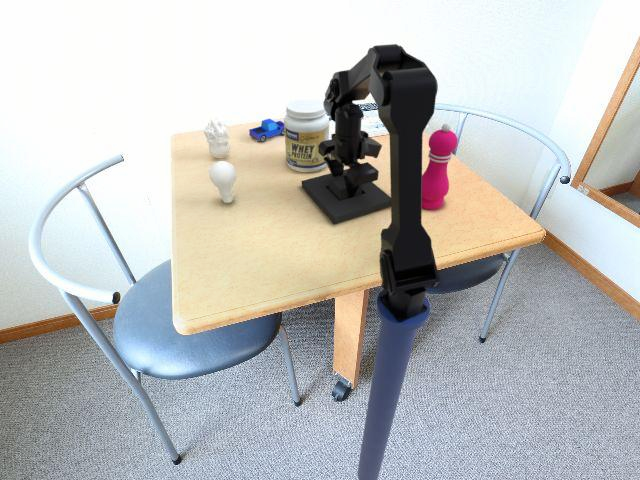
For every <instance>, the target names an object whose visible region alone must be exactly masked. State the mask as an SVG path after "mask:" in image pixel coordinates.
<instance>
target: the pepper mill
mask: <svg viewBox="0 0 640 480" xmlns="http://www.w3.org/2000/svg"><path fill="white" fill-rule="evenodd" d="M451 128H452V127H451V125H450V124H449V123H447V122H445V123H444V124H442V126H441V129H437V130H435V131H433V133H431V134H430V137H429V139H428V146H429V150H428V155H427V157H428V159H429V161H428V165H427V167H426V169H425V171H424V172H423V173H422V208H423V209H425V210H431V211H434V210H438V209H441V208H442V207H443V205H444V201H445V197H446V196H447V195H448V193H449V190H450V180H449V177H448V164H449V162H450V161H451V160H452V157H453V152H454V151H455V150H456V148H457V147H458V140H459V139H458V137H457V134H456V133H455V132H454V131H453V130H451Z"/></svg>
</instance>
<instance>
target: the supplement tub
mask: <svg viewBox="0 0 640 480" xmlns="http://www.w3.org/2000/svg"><path fill="white" fill-rule="evenodd" d="M323 102H324V101H323V100H320V99H315V98H297V99H293V100H291V101H289V102H287V104H286V109H285V112H286V114H285V116H284V118H283V123H284V131H285V135H284V144H285V160H286V163H287V166H288V167H289V168H290V169H292V170H293V171H296V172H301V173H315V172H319V171H321V170H323V169H325V168H326V167H328V166H327V164H326V162H325V161H324V159H323V158H324V157H326V156H324V157H323V156H322V155H320V154H319V153H318V146H319V144H320V143H321V142H322V141H327V140H330V116H329V115H328V114H327V112H326V111H325V109H324V106H323Z"/></svg>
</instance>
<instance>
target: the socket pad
mask: <svg viewBox="0 0 640 480" xmlns="http://www.w3.org/2000/svg"><path fill="white" fill-rule="evenodd" d="M348 169H349V168H344V171H343V175H344V174H347V170H348ZM332 177H333V176H332V174H331V172H330V173H326V174H323V175H319V176H316V177H312V178H307V179H303V180H301V182H300V183H301V188H302V190H303V191H304V192H305V193H306V194H307V195H308V197H309V198H310V199H311V200H312V201H313V203H315V204H316V205H317V207H318V208H319V209H320V210H321V211H322V213H324V214H325V216H326V217H327V219H329V220H330V222H332V224H333V225H338V224H340V223H344V222H346V221H351V220H353V219H356V218H359V217H362V216H366V215H369V214H372V213H374V212H378V211H382V210H385V209H388V208H391V195H389V194H388V193H386V192H385V191H384V190H383V189H381V188H380V187H379V186H378V185H377V184H375V183H374V181H373V182H369V183H366V184H362V194H361V195H359V196H355V197H352V198H348V199H345V200H342V201H339V200H338V199H337V198H336V197H335V196H334V195H333V194H332V193H331V192H330V191H329V178H332Z"/></svg>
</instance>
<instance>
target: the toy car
mask: <svg viewBox="0 0 640 480" xmlns="http://www.w3.org/2000/svg"><path fill="white" fill-rule="evenodd" d="M248 132H249V134H248V135H249V136H250V137H251V138H252V139H253V140H256V141H257V142H259V141H260V142H262V143H265V142H266V141H267V139H268V138H271V137H274V136H277V135H278V136H279V135H280V134H281V135H282V136H285V131H284V121H282V120H278V121H275V120H274V119H272V118H266V119H263V120H261V124H260V126H257V127H254V128H249V130H248Z"/></svg>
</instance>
